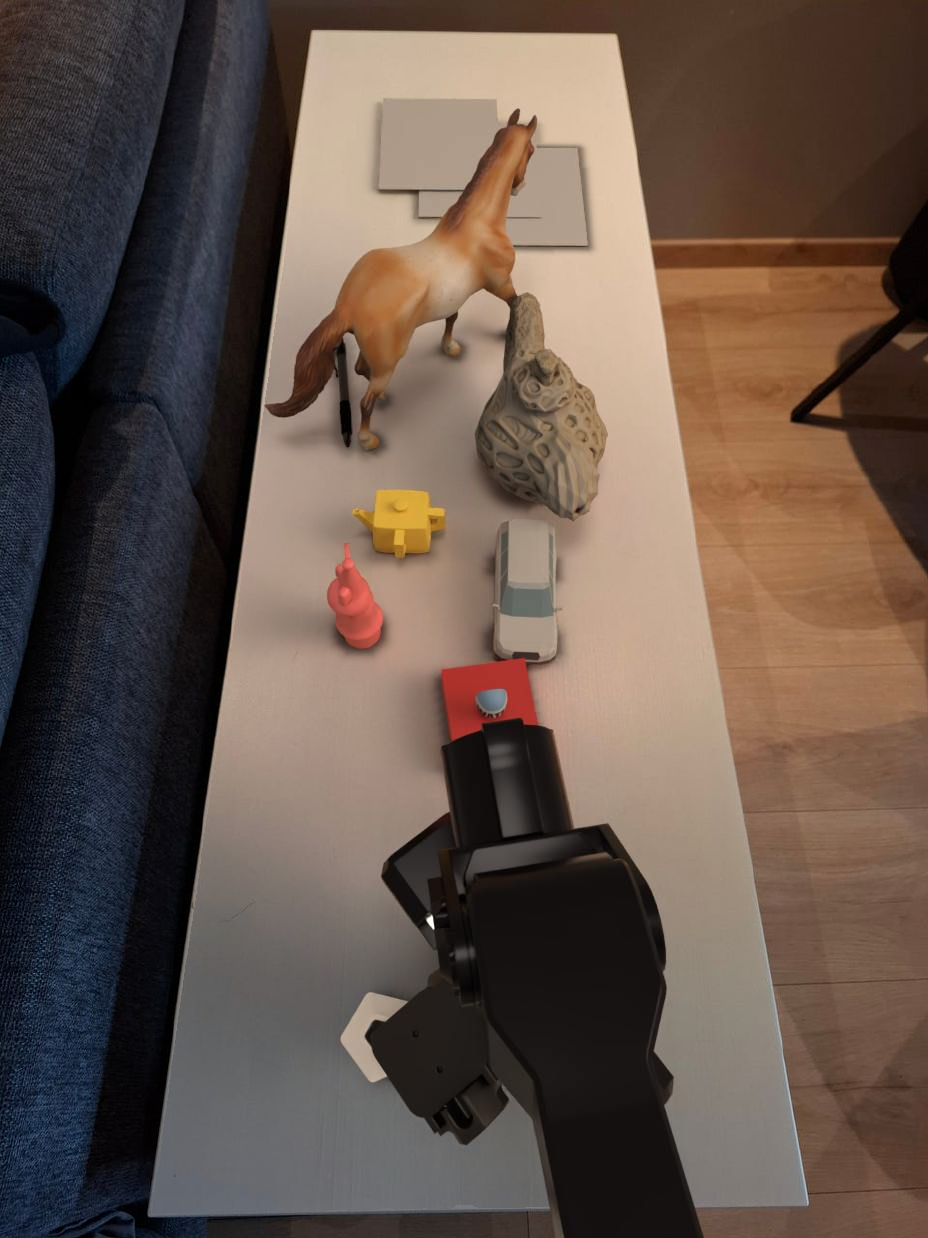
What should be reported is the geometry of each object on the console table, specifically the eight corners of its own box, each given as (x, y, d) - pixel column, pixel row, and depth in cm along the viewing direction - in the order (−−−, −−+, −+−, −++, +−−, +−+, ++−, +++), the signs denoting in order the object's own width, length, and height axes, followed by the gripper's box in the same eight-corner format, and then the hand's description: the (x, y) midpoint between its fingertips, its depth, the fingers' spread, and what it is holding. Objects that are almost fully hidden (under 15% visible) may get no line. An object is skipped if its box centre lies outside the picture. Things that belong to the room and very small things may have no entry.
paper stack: (572, 104, 106) (573, 99, 105) (587, 245, 95) (588, 240, 94) (383, 103, 106) (383, 97, 105) (376, 244, 94) (375, 239, 94)
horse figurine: (508, 289, 92) (522, 99, 73) (559, 330, 89) (588, 143, 71) (274, 445, 82) (224, 271, 64) (325, 495, 80) (287, 329, 61)
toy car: (489, 669, 72) (491, 644, 67) (492, 539, 78) (495, 508, 73) (557, 672, 72) (565, 647, 67) (556, 541, 78) (562, 510, 73)
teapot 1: (353, 568, 76) (347, 537, 71) (359, 514, 79) (353, 480, 74) (444, 571, 76) (443, 540, 72) (446, 516, 79) (446, 483, 74)
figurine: (334, 613, 74) (315, 539, 63) (382, 606, 74) (370, 532, 64) (339, 656, 72) (320, 587, 62) (388, 649, 73) (377, 579, 62)
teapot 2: (623, 549, 77) (660, 444, 64) (499, 571, 76) (510, 468, 63) (563, 372, 87) (584, 248, 73) (451, 389, 86) (451, 266, 72)
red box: (540, 763, 68) (548, 737, 63) (455, 775, 68) (456, 750, 62) (521, 671, 72) (528, 639, 66) (441, 682, 71) (440, 651, 66)
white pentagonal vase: (354, 1065, 59) (325, 1073, 45) (371, 997, 60) (348, 985, 47) (419, 1082, 58) (409, 1096, 45) (434, 1013, 60) (429, 1005, 47)
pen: (330, 342, 88) (329, 333, 87) (346, 340, 88) (345, 332, 87) (336, 451, 82) (335, 443, 81) (354, 449, 82) (353, 442, 81)
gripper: (281, 908, 42) (323, 942, 56) (526, 1282, 35) (503, 1214, 49) (462, 772, 45) (458, 836, 59) (716, 1093, 39) (644, 1079, 53)
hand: (509, 982), depth 55 cm, fingers closed on jar lid, 6 cm apart
